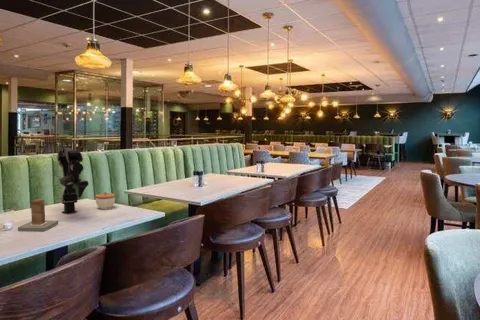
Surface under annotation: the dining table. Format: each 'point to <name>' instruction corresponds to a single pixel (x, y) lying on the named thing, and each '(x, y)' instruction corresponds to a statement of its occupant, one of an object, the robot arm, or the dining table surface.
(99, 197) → the lidded bowl
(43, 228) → the foundation slab
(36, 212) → the walnut pillar
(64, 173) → the robot arm
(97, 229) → the dining table surface
